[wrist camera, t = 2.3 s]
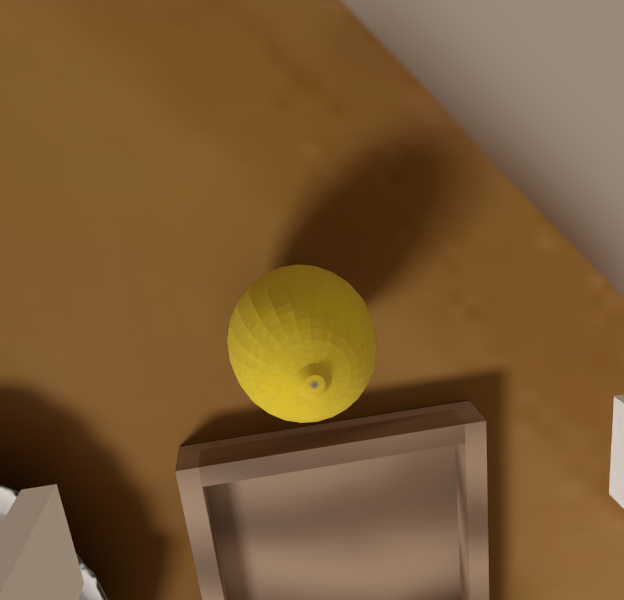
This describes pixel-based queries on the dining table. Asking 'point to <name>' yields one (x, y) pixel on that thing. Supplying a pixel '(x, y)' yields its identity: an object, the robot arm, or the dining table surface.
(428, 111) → the dining table surface
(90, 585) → the brain slice
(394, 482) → the organizer
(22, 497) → the robot arm
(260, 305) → the lemon
